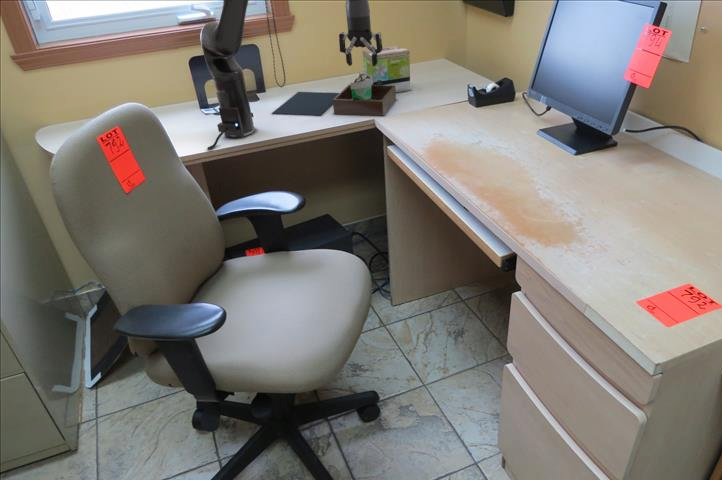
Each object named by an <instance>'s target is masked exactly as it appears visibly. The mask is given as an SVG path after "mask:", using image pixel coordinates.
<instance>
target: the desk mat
mask: <svg viewBox="0 0 722 480" xmlns="http://www.w3.org/2000/svg"><path fill="white" fill-rule="evenodd" d="M339 93H340V92H319V91H318V92H317V91H315V92H314V91H297V92H296V93H295V94H294V95H292V96H290V98H289V99H287V100H286V101H285V102H284V103H283V104H281V105H280V106H279V107H278V108H276V109H275V110H274V111H272V112H271V114H272V115H284V116H285V115H289V116H310V117H311V116H312V117H314V116H315V117H321V116H322V115H323V114H324V113H325V112H326V111H327V110H328V109H329V108H330V107H331V106H333V99H334V98H335V97H336V96H337V95H338V94H339Z"/></svg>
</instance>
